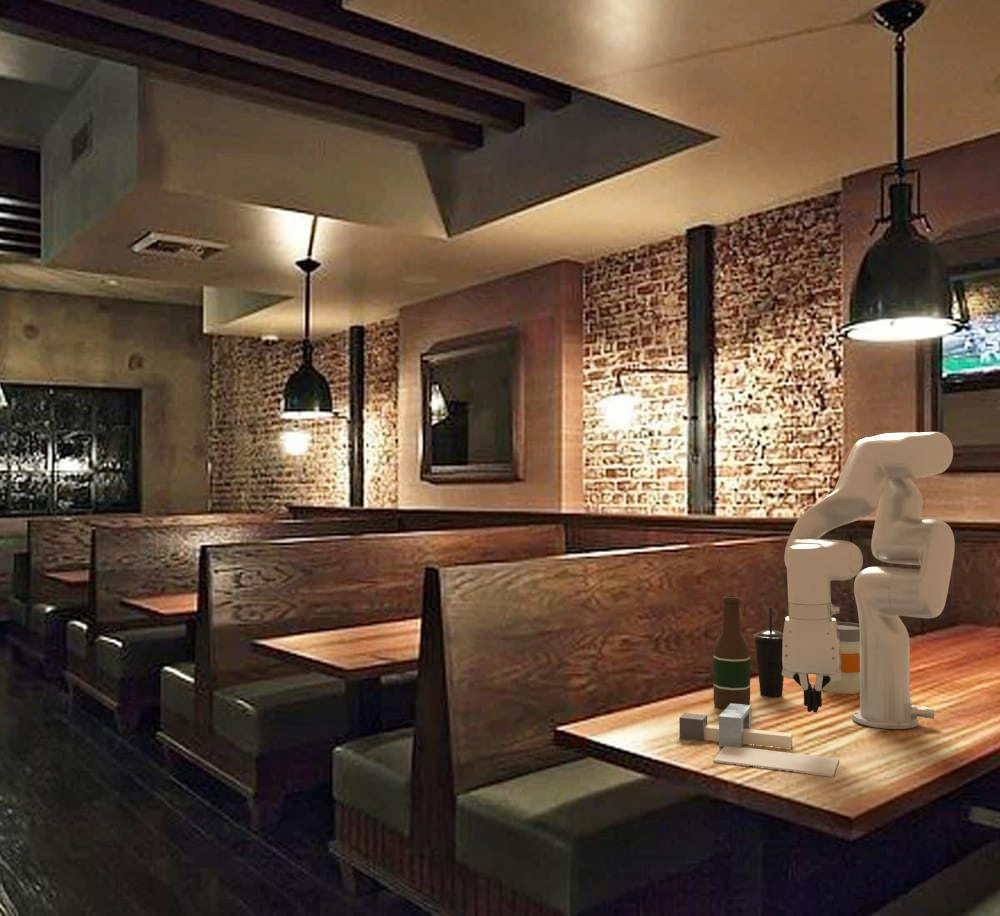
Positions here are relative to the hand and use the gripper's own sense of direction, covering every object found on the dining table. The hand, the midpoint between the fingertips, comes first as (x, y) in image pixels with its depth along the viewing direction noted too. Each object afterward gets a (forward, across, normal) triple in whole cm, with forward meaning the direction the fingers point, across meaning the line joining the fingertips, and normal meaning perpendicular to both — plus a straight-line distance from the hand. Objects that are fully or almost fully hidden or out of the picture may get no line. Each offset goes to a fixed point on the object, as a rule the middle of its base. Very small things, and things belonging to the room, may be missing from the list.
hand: (813, 710), depth 177 cm
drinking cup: (+9, +14, -40) cm, 44 cm away
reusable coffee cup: (+10, +1, -53) cm, 54 cm away
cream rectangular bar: (+7, +14, +2) cm, 16 cm away
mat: (+6, +5, +12) cm, 14 cm away
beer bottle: (+8, +20, -25) cm, 33 cm away
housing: (+7, +14, +2) cm, 16 cm away
